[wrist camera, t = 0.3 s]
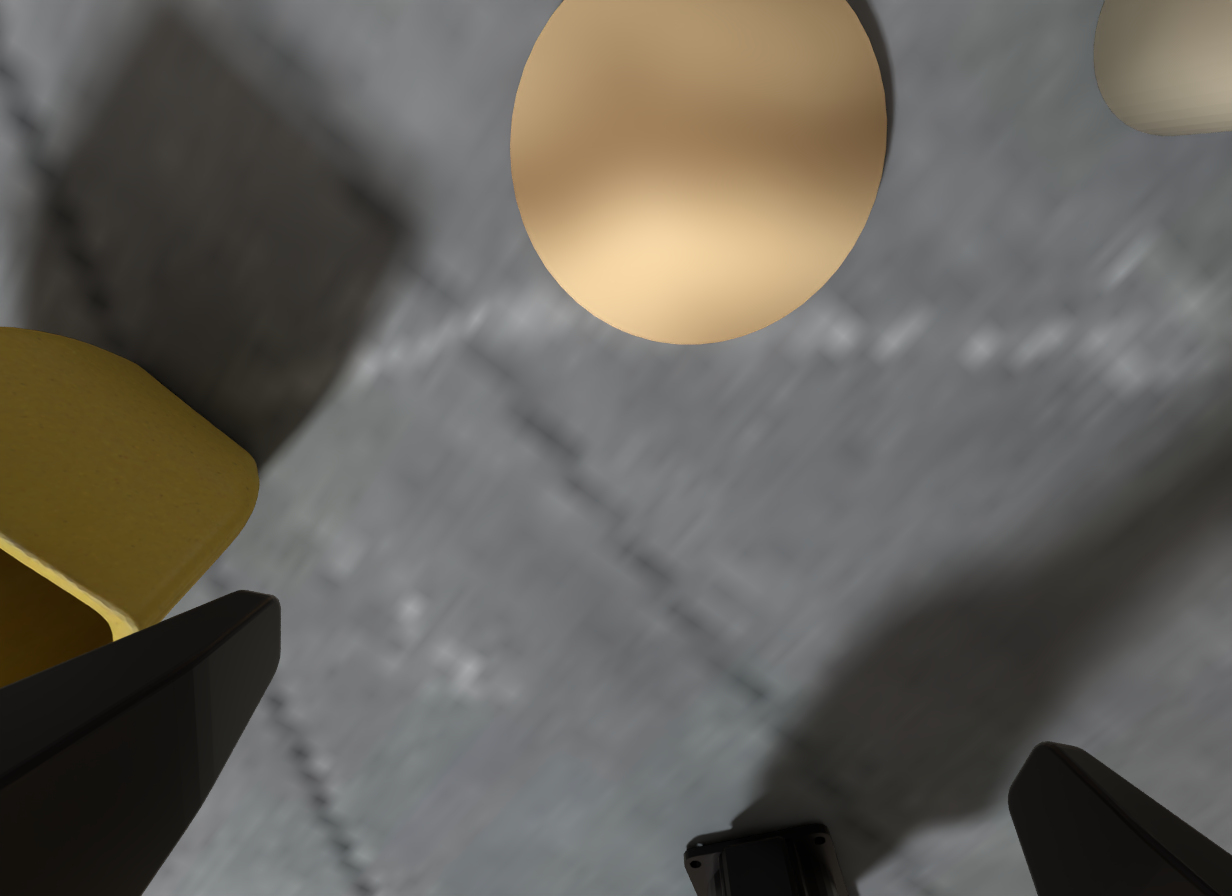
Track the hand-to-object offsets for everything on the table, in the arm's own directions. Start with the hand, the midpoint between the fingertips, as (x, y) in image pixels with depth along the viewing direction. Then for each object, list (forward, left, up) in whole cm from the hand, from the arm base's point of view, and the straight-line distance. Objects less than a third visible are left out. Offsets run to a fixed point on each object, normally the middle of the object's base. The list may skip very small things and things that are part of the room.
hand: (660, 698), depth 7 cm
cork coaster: (+5, -3, -14) cm, 15 cm away
